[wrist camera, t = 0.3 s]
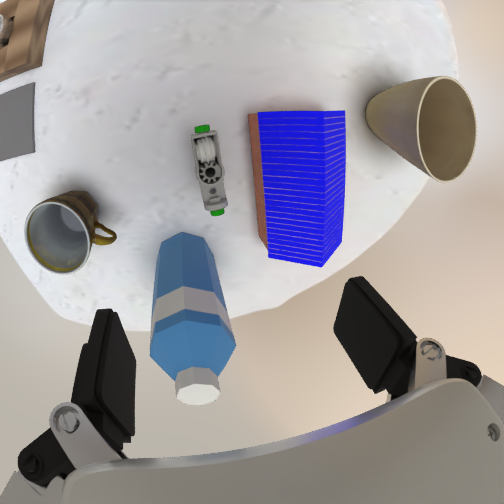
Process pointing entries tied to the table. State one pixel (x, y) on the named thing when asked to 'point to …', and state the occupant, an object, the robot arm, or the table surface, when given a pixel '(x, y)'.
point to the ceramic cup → (64, 232)
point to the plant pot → (427, 125)
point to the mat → (17, 122)
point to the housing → (24, 35)
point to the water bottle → (190, 319)
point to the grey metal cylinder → (5, 30)
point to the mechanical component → (209, 169)
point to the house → (299, 182)
